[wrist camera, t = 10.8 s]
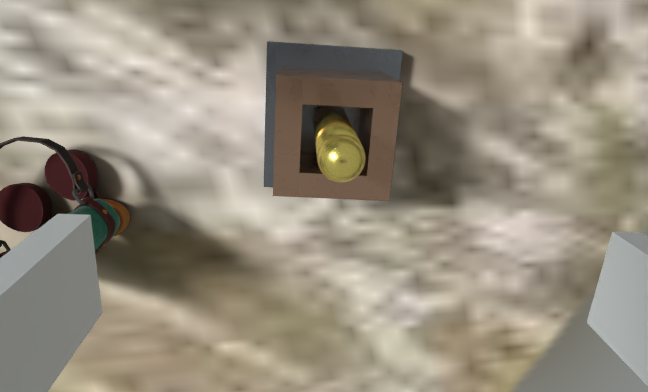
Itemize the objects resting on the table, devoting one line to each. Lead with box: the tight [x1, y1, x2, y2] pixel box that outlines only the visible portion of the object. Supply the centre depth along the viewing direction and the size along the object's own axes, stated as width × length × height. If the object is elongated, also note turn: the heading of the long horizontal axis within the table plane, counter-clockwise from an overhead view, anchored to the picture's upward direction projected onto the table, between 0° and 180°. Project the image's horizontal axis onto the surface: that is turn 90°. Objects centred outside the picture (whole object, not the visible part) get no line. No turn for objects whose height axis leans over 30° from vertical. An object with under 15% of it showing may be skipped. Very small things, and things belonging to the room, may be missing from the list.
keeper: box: [264, 41, 403, 187], centre depth 28 cm, size 10×9×12 cm
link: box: [273, 67, 403, 201], centre depth 30 cm, size 7×7×6 cm
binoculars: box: [0, 137, 130, 258], centre depth 30 cm, size 9×11×10 cm
